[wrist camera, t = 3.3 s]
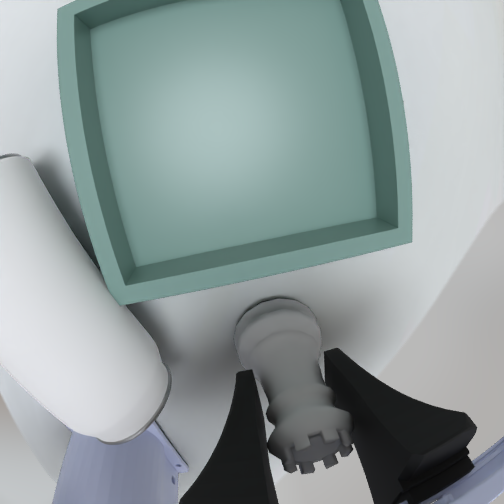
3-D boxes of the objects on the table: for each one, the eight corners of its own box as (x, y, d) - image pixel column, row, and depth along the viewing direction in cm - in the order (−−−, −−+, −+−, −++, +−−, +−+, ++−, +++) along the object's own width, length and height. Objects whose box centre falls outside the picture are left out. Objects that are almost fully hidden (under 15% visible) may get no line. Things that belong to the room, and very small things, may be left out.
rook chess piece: (300, 279, 14) (374, 398, 7) (324, 341, 16) (383, 452, 9) (218, 315, 14) (229, 454, 7) (252, 372, 16) (278, 493, 9)
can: (-45, 158, 4) (176, 439, 9) (51, 143, 10) (183, 338, 15) (-93, 263, 5) (77, 458, 9) (-17, 217, 11) (102, 375, 15)
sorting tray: (384, 226, 14) (412, 242, 12) (129, 280, 13) (115, 306, 11) (343, -12, 9) (365, -33, 7) (79, 26, 9) (57, 9, 6)
